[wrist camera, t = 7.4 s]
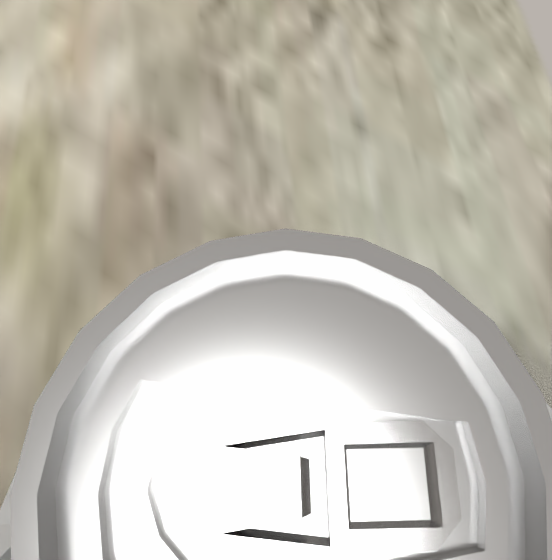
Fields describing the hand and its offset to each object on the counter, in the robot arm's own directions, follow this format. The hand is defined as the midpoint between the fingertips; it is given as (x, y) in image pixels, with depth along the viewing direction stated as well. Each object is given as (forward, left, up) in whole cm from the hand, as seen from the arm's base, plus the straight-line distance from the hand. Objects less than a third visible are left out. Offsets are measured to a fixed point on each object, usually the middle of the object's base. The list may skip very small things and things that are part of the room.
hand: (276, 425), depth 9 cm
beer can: (-1, 0, -7) cm, 7 cm away
